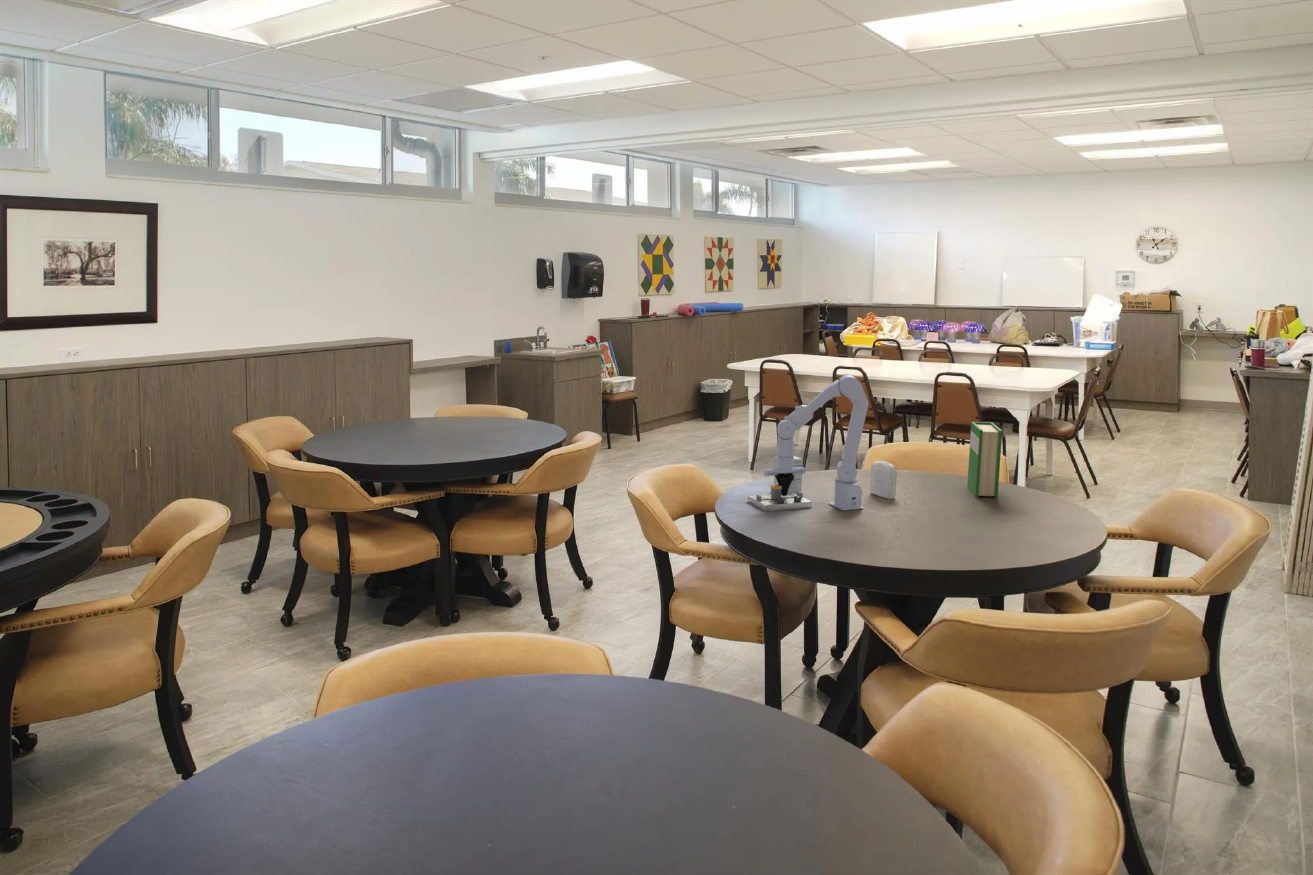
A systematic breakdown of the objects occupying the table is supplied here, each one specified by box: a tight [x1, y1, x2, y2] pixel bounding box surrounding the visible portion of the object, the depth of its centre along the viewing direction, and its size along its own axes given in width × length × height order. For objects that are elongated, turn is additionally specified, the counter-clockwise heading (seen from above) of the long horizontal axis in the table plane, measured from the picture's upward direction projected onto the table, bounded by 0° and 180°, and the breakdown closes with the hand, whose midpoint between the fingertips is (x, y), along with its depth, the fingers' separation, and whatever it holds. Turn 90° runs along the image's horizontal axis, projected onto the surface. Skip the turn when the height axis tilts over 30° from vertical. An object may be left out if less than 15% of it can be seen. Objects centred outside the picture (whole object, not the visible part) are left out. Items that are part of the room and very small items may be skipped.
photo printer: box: [869, 460, 898, 500], centre depth 327 cm, size 10×4×12 cm, turn 28°
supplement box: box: [773, 455, 804, 494], centre depth 333 cm, size 7×7×13 cm
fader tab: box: [770, 483, 782, 499], centre depth 315 cm, size 3×3×4 cm
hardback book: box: [966, 421, 1003, 499], centre depth 332 cm, size 18×7×24 cm, turn 171°
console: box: [747, 491, 813, 512], centre depth 316 cm, size 14×17×4 cm
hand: (783, 495), depth 316 cm, fingers closed
